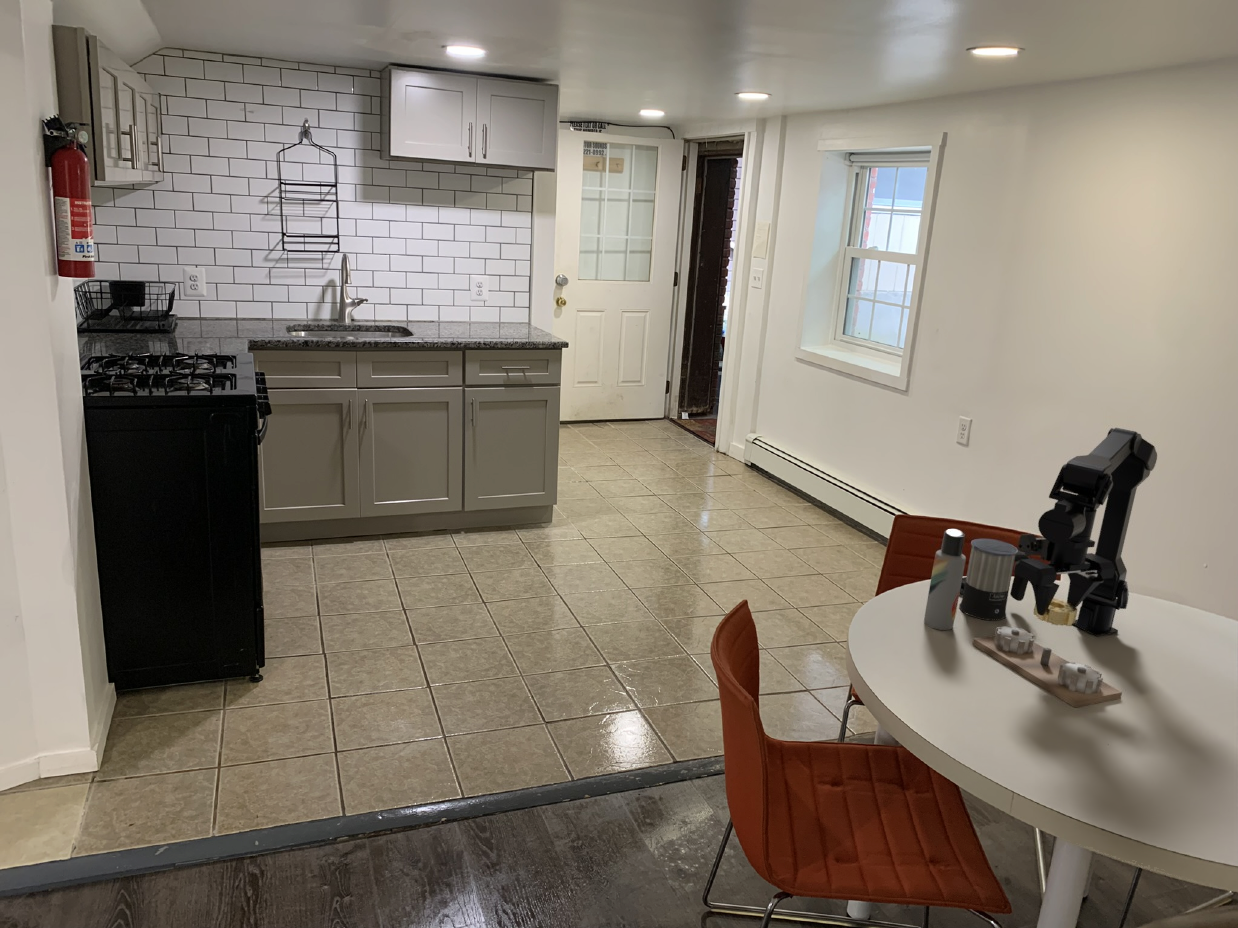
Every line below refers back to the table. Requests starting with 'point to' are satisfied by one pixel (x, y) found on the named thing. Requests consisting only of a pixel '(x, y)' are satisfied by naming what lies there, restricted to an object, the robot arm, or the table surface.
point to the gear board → (1047, 667)
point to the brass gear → (1058, 613)
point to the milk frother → (991, 579)
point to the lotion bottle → (946, 581)
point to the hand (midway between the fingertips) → (1054, 612)
